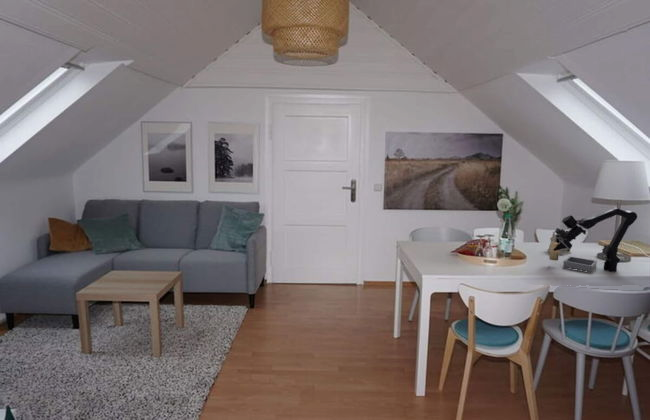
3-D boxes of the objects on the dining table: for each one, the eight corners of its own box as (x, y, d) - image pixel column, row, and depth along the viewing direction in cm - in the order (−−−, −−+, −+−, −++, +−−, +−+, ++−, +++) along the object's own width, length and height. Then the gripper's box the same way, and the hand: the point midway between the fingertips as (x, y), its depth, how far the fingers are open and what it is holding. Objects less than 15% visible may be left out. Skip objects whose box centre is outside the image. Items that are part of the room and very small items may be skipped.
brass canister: (559, 259, 300) (560, 242, 298) (557, 261, 296) (558, 244, 294) (550, 257, 303) (552, 241, 301) (548, 259, 299) (550, 242, 297)
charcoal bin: (596, 267, 299) (596, 260, 298) (591, 273, 287) (592, 266, 286) (568, 262, 309) (569, 256, 308) (563, 267, 297) (563, 261, 296)
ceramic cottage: (549, 254, 329) (553, 233, 326) (545, 249, 344) (549, 230, 342) (573, 258, 325) (577, 237, 322) (568, 253, 340) (572, 233, 338)
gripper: (560, 221, 304) (540, 236, 308) (568, 227, 286) (547, 243, 290) (571, 234, 304) (551, 249, 308) (581, 240, 286) (559, 256, 290)
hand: (552, 249), depth 299 cm, fingers closed on brass canister, 5 cm apart
